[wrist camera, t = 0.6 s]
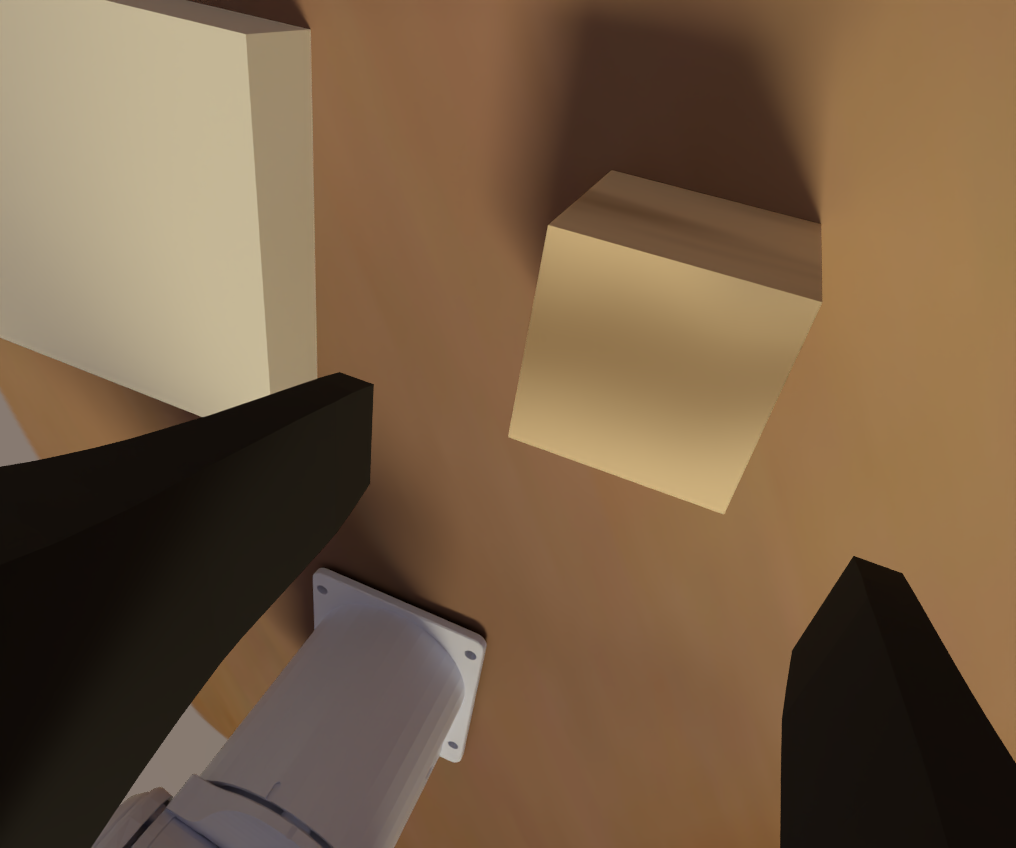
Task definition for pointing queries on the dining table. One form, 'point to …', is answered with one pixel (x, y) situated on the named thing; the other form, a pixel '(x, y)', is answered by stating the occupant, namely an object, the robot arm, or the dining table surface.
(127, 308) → the beige block
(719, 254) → the maple cube
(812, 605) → the dining table surface
